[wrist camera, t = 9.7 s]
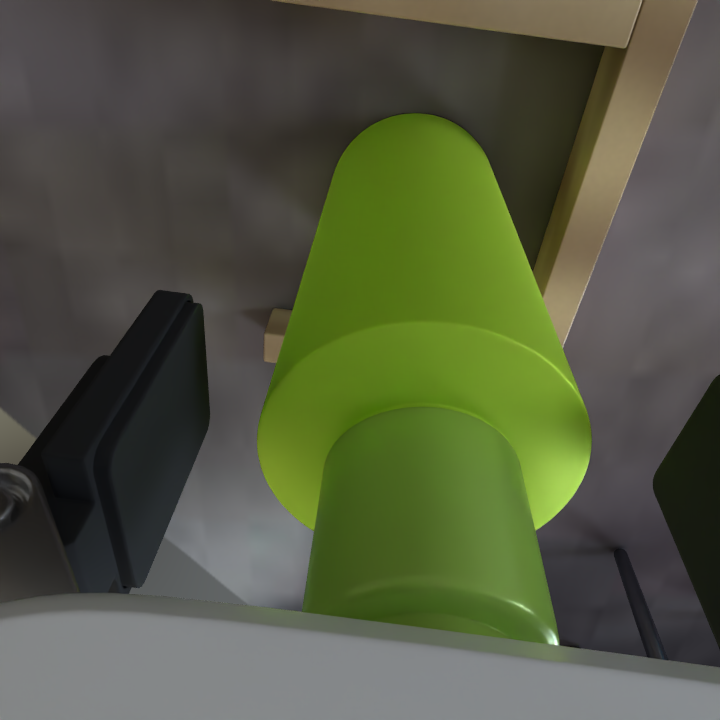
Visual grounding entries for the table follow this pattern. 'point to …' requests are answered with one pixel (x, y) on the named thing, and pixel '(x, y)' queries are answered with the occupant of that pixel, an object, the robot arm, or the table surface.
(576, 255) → the holder
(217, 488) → the table surface
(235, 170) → the table surface
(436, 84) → the table surface
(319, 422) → the soap dispenser
